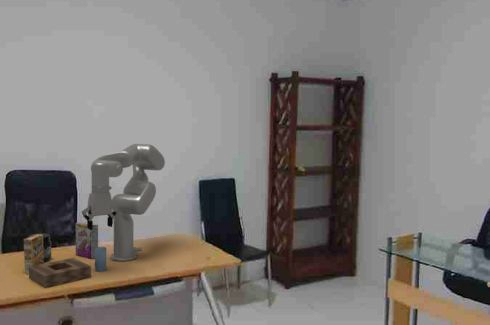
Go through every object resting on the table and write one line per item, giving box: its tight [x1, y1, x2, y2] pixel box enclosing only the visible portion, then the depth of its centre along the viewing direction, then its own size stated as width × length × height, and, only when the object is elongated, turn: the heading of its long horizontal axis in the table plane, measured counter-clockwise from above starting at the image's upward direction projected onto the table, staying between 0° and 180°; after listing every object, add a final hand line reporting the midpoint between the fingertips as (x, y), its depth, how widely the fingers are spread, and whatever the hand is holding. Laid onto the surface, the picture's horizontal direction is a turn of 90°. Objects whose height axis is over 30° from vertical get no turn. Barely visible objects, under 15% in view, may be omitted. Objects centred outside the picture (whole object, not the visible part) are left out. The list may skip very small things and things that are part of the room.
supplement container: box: [28, 233, 52, 263], centre depth 234 cm, size 10×10×12 cm
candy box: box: [23, 233, 45, 274], centre depth 219 cm, size 9×4×15 cm, turn 171°
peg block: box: [28, 257, 92, 289], centre depth 210 cm, size 20×16×5 cm
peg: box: [94, 246, 107, 273], centre depth 222 cm, size 5×5×10 cm
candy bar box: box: [74, 221, 99, 259], centre depth 242 cm, size 11×5×16 cm, turn 59°
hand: (100, 227), depth 220 cm, fingers open, 9 cm apart
